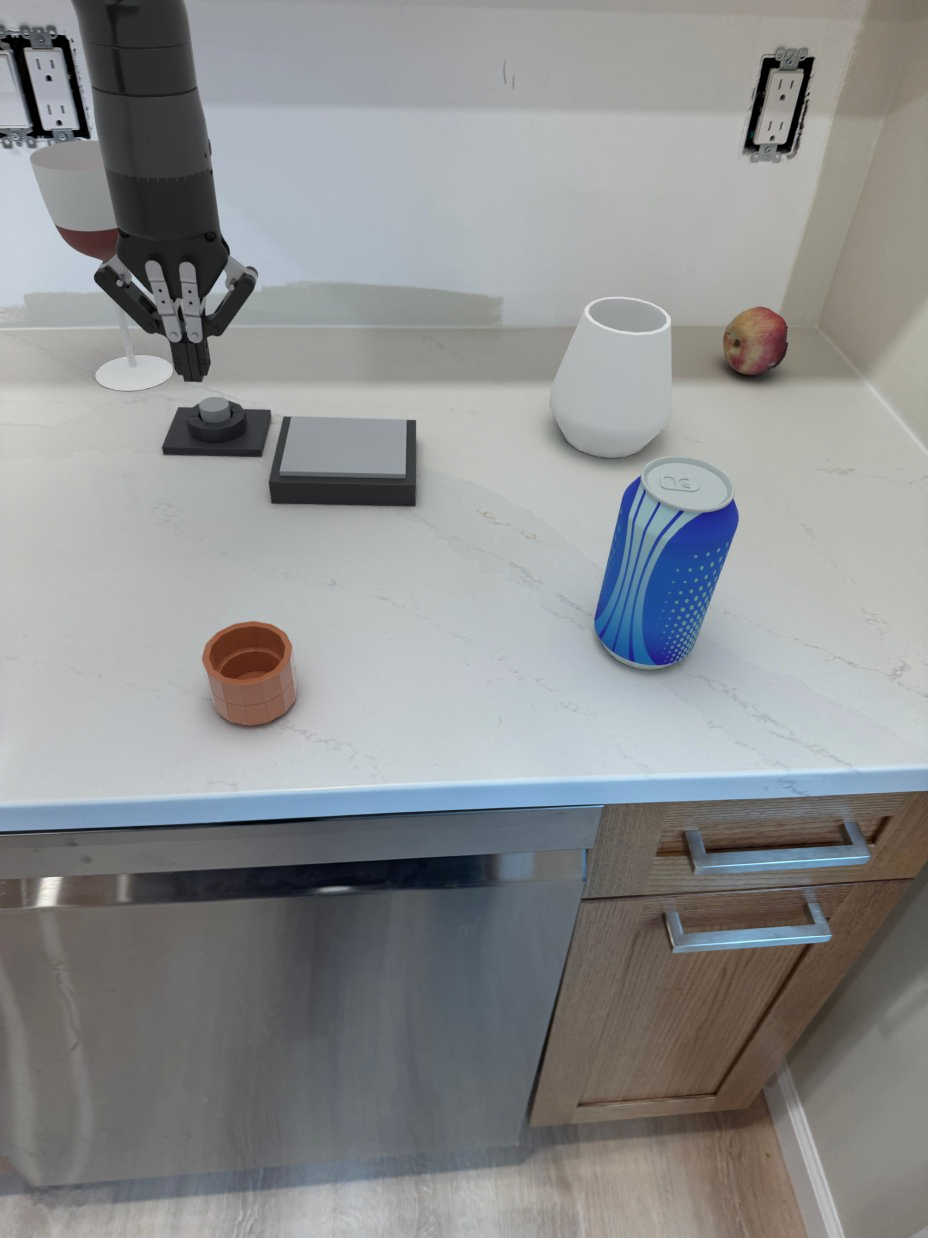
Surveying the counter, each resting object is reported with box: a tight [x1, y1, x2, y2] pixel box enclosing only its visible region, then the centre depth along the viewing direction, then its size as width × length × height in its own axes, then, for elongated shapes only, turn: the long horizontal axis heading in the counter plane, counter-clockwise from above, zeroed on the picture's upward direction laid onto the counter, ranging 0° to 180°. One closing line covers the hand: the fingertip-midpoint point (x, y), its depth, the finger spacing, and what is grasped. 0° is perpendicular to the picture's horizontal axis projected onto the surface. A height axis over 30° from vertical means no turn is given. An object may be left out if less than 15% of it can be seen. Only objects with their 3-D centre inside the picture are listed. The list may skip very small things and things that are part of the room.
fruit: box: [722, 305, 789, 376], centre depth 102 cm, size 8×8×8 cm
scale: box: [268, 415, 417, 507], centre depth 83 cm, size 14×12×3 cm
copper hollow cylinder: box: [201, 620, 298, 727], centre depth 60 cm, size 6×6×5 cm
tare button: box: [199, 396, 231, 423], centre depth 86 cm, size 3×3×2 cm
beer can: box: [593, 455, 740, 671], centre depth 63 cm, size 8×8×16 cm
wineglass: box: [29, 139, 174, 392], centre depth 88 cm, size 9×10×23 cm
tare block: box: [161, 399, 272, 457], centre depth 87 cm, size 10×8×2 cm
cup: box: [548, 296, 673, 459], centre depth 87 cm, size 13×13×14 cm
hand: (195, 377), depth 71 cm, fingers closed
